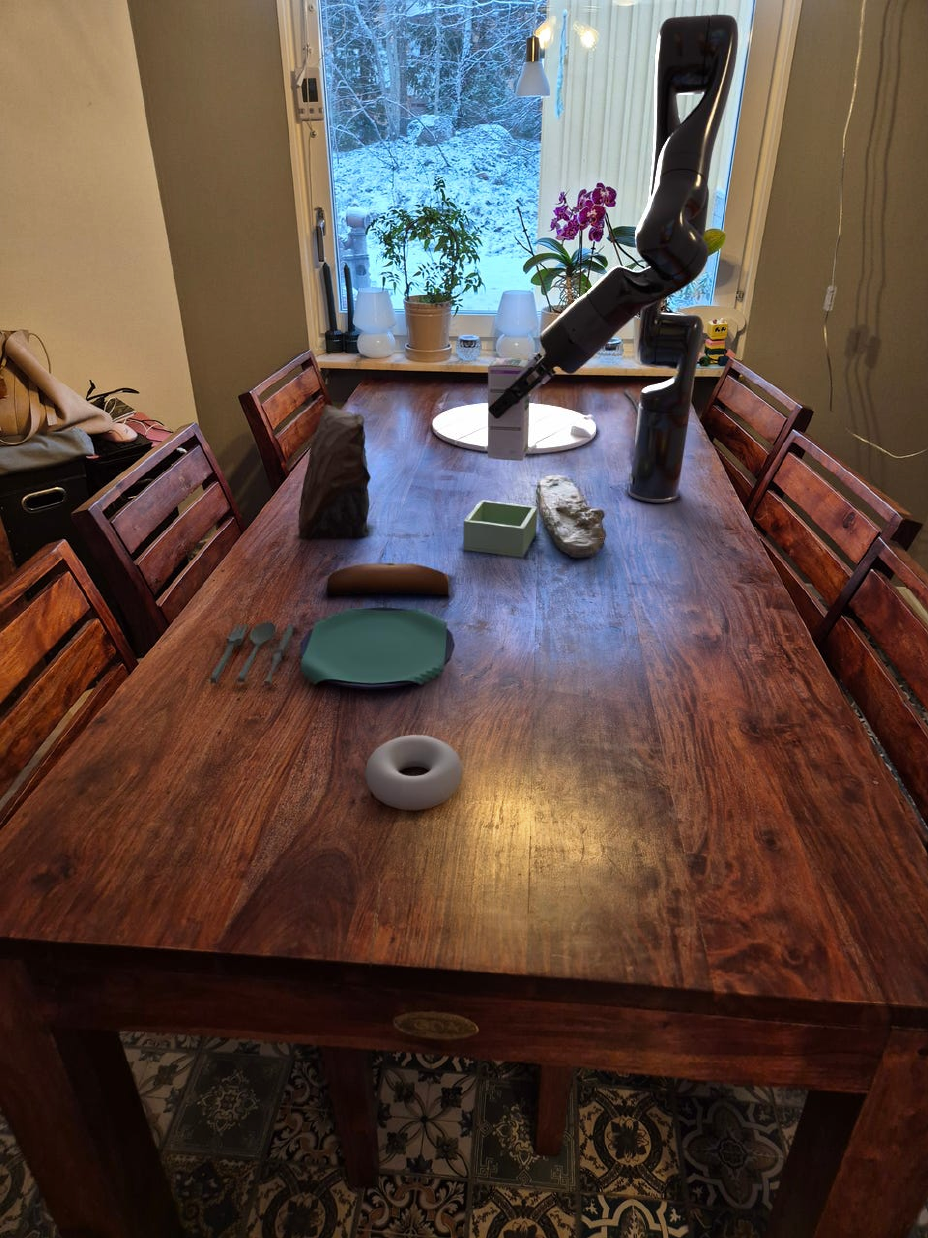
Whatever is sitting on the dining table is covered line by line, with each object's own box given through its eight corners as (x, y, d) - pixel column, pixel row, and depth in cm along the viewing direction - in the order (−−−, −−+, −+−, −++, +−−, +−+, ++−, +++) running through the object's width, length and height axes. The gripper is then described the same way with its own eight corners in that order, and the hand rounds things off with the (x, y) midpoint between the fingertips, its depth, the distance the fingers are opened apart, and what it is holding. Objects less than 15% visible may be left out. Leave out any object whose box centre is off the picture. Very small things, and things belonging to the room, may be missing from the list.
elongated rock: (577, 493, 162) (527, 496, 162) (577, 467, 160) (527, 470, 159) (617, 559, 131) (555, 563, 130) (618, 528, 128) (555, 532, 128)
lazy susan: (624, 422, 201) (626, 409, 200) (552, 465, 173) (553, 450, 171) (486, 399, 220) (486, 386, 218) (400, 434, 191) (399, 419, 189)
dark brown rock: (323, 510, 149) (315, 401, 140) (389, 517, 147) (385, 406, 137) (295, 537, 139) (283, 421, 129) (365, 545, 136) (358, 427, 126)
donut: (458, 752, 89) (366, 755, 88) (459, 726, 87) (365, 729, 87) (466, 816, 80) (364, 820, 80) (467, 789, 79) (363, 793, 78)
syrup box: (523, 461, 127) (527, 366, 120) (486, 458, 128) (487, 364, 121) (528, 450, 132) (532, 358, 125) (492, 447, 133) (494, 356, 126)
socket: (479, 527, 144) (480, 499, 141) (536, 534, 141) (537, 506, 138) (463, 549, 135) (463, 521, 133) (522, 557, 133) (523, 528, 130)
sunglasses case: (449, 571, 127) (449, 547, 121) (449, 610, 123) (449, 587, 117) (333, 571, 126) (327, 546, 121) (330, 610, 123) (324, 587, 117)
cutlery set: (452, 702, 97) (452, 685, 96) (201, 697, 97) (198, 681, 96) (456, 619, 114) (456, 605, 113) (243, 616, 115) (241, 602, 114)
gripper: (571, 305, 123) (494, 379, 132) (552, 320, 111) (468, 401, 120) (603, 344, 125) (524, 414, 133) (588, 363, 113) (502, 439, 121)
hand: (498, 408), depth 127 cm, fingers closed on syrup box, 6 cm apart
